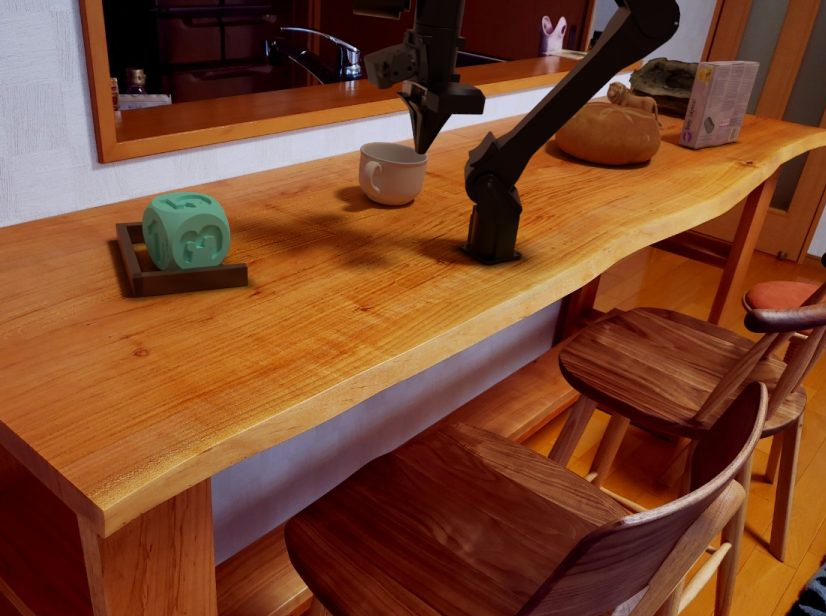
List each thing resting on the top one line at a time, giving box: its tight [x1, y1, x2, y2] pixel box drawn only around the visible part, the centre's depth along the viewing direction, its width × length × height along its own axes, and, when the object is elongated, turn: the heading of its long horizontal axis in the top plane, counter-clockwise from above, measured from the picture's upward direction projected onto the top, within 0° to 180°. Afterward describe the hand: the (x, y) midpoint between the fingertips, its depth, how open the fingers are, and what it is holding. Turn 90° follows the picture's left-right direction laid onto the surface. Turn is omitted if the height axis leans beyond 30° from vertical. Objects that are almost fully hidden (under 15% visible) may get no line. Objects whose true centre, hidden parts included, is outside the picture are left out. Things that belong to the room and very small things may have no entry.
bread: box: [554, 101, 662, 166], centre depth 153 cm, size 23×23×10 cm
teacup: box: [358, 141, 429, 206], centre depth 118 cm, size 14×11×8 cm
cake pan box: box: [678, 60, 761, 150], centre depth 167 cm, size 19×5×18 cm, turn 128°
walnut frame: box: [114, 221, 249, 298], centre depth 94 cm, size 13×17×2 cm
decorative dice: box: [141, 191, 231, 271], centre depth 93 cm, size 8×8×8 cm
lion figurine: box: [606, 81, 663, 128], centre depth 181 cm, size 15×5×9 cm, turn 62°
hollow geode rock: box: [628, 56, 699, 115], centre depth 196 cm, size 28×13×15 cm
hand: (420, 153), depth 98 cm, fingers closed
